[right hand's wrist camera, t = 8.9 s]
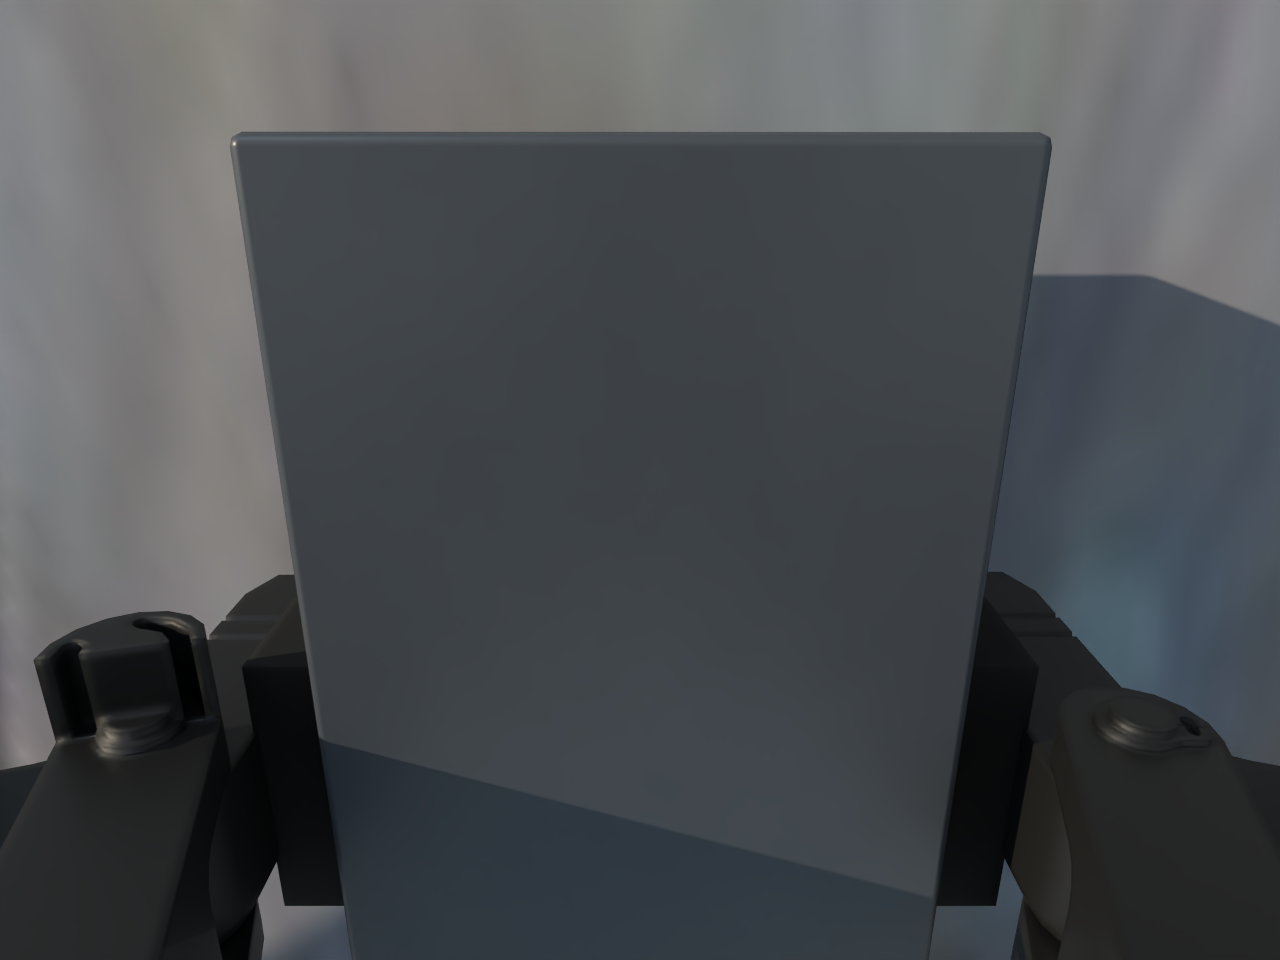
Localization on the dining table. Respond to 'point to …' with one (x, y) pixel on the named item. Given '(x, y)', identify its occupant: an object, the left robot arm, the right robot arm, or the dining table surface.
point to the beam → (640, 521)
